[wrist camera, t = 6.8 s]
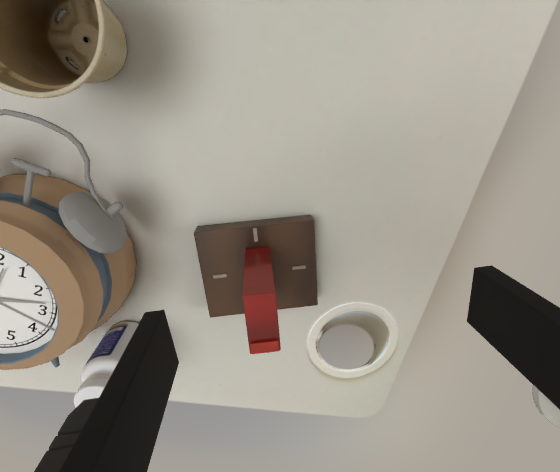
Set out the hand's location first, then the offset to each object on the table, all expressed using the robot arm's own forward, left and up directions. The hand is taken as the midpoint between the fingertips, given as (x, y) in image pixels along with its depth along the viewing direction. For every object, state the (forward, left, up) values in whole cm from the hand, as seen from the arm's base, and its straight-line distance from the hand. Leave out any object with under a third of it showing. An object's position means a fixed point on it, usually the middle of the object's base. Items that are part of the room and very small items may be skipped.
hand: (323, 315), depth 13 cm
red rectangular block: (+3, +7, -18) cm, 20 cm away
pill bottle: (+19, +15, -21) cm, 32 cm away
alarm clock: (+23, +1, -21) cm, 31 cm away
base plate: (+3, +7, -20) cm, 22 cm away
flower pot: (+15, -15, -21) cm, 30 cm away
